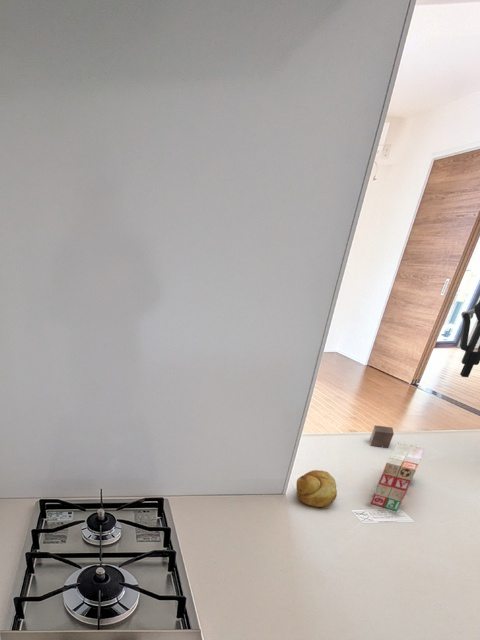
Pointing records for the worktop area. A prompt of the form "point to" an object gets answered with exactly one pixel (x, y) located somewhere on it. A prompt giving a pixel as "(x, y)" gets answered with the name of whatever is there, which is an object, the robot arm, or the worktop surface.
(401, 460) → the stack of blocks
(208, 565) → the worktop surface
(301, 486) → the bread roll
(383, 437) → the walnut block
